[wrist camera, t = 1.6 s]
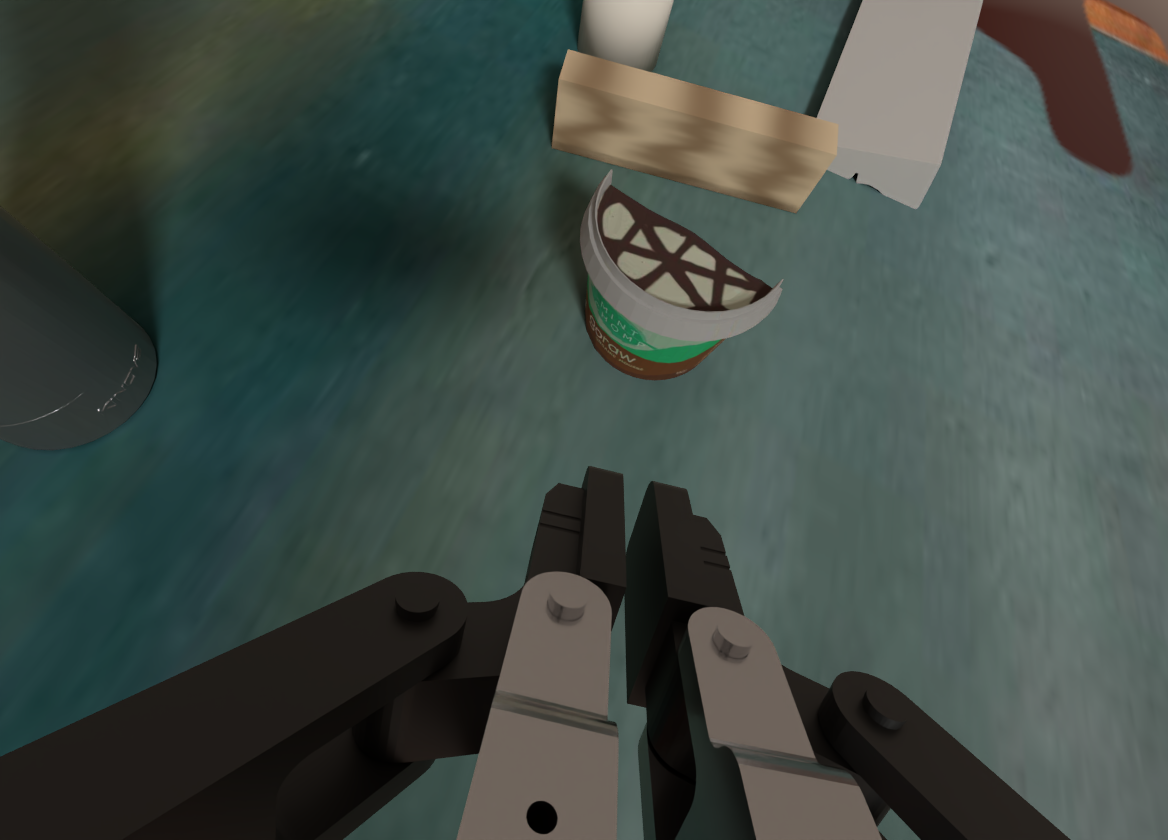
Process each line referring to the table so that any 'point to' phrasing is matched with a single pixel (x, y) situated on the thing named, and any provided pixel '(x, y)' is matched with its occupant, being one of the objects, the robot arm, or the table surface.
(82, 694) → the table surface
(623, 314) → the food container
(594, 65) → the light wooden block
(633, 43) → the glossy white cylinder
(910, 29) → the grey long flat block
